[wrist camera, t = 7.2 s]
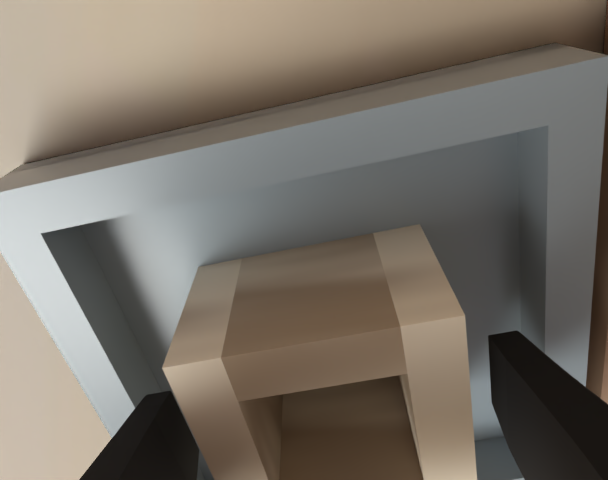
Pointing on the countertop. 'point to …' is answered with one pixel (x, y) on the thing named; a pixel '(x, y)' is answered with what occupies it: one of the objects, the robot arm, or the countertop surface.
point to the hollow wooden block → (327, 364)
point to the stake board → (600, 279)
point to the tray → (329, 216)
